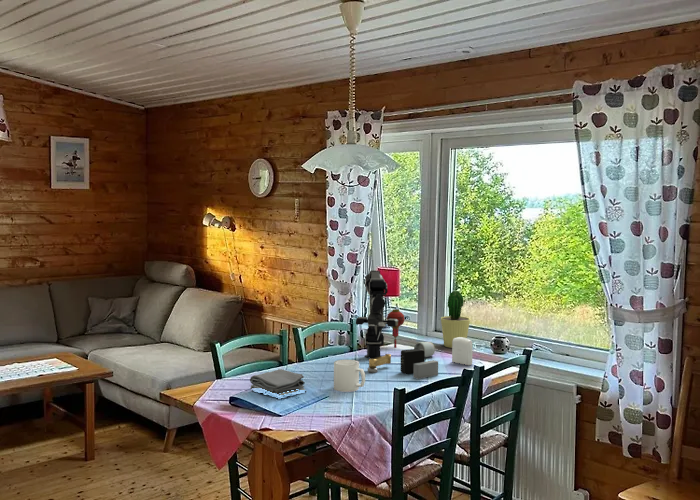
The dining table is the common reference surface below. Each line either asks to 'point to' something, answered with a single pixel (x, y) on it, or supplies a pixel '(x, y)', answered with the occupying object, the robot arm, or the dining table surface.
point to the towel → (278, 381)
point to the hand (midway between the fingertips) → (376, 340)
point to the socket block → (425, 369)
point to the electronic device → (411, 359)
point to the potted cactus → (454, 320)
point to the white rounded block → (462, 351)
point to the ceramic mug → (426, 348)
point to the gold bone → (380, 361)
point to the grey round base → (372, 370)
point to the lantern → (400, 317)
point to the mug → (347, 376)
